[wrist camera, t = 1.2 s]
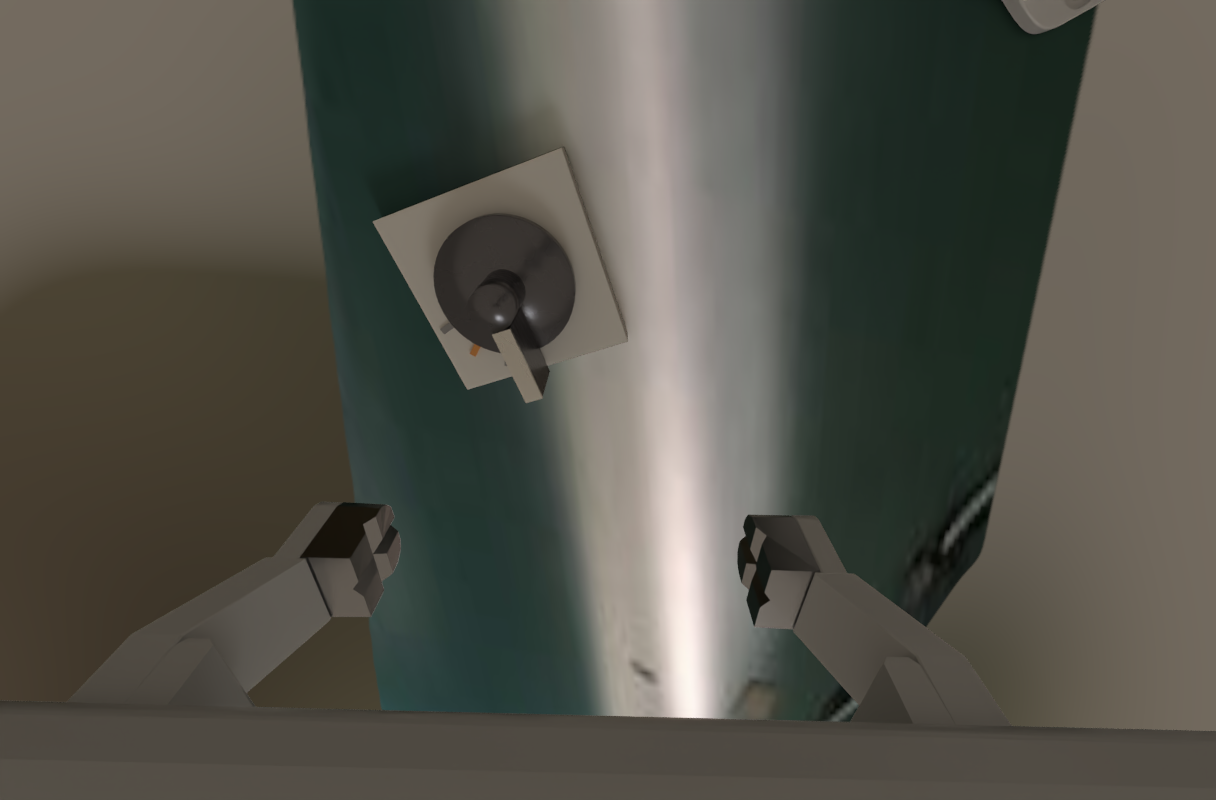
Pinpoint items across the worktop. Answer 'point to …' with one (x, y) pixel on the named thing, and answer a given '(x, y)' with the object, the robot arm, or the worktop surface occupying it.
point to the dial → (507, 291)
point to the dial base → (539, 197)
